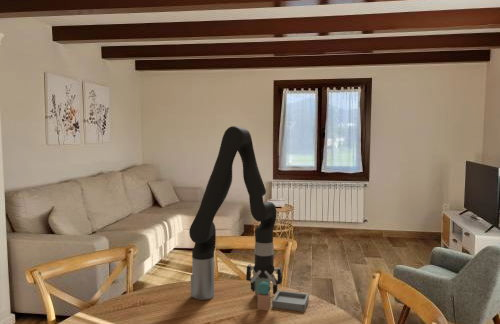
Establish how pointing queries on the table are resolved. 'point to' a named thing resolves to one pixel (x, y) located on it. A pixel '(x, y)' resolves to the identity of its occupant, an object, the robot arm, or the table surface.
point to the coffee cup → (258, 281)
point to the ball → (264, 288)
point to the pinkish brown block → (264, 301)
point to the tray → (290, 300)
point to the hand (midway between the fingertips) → (264, 292)
